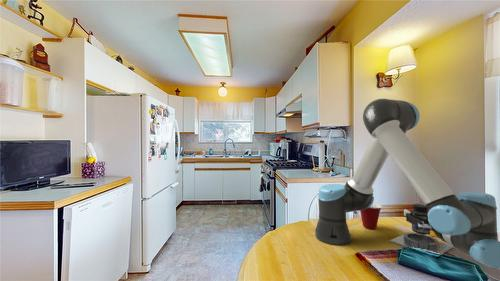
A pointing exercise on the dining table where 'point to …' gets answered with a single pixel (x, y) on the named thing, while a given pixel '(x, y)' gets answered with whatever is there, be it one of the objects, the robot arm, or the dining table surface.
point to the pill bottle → (421, 212)
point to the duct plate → (441, 250)
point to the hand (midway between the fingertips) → (413, 212)
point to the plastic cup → (370, 216)
